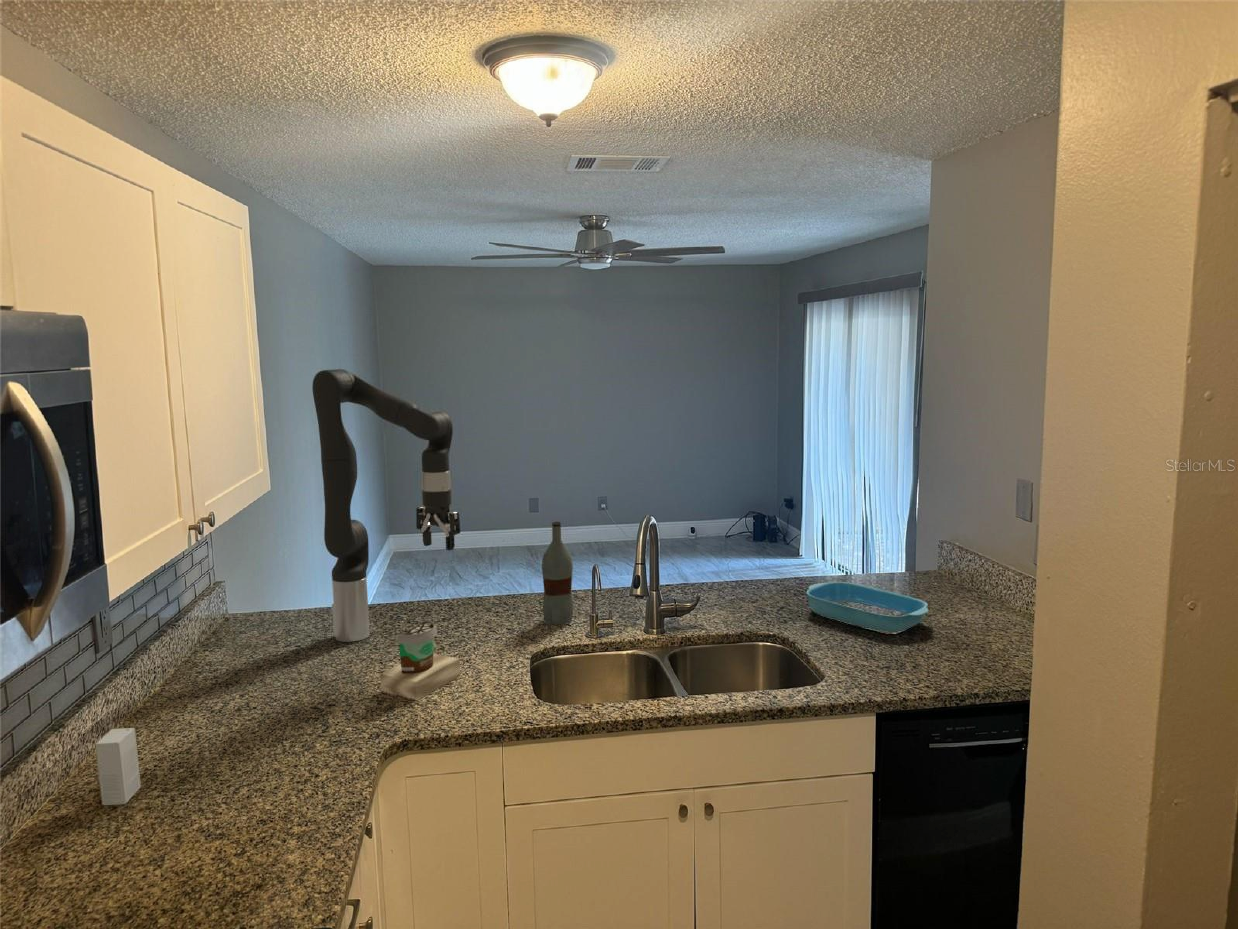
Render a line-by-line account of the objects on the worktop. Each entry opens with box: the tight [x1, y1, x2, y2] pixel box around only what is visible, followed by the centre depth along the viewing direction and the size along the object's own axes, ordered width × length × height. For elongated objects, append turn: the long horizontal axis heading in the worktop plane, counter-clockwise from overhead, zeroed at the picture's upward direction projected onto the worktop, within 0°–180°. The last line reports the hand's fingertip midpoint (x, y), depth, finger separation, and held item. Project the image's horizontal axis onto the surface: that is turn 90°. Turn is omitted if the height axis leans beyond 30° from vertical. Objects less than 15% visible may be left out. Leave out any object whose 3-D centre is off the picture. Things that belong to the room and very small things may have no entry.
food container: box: [396, 618, 438, 674], centre depth 201 cm, size 12×6×10 cm, turn 162°
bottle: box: [541, 521, 574, 626], centre depth 247 cm, size 9×9×30 cm
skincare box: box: [95, 727, 142, 806], centre depth 153 cm, size 6×4×12 cm
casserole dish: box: [805, 581, 929, 632], centre depth 248 cm, size 37×22×7 cm, turn 44°
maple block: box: [379, 653, 461, 701], centre depth 203 cm, size 11×16×5 cm
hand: (438, 547), depth 223 cm, fingers open, 8 cm apart
